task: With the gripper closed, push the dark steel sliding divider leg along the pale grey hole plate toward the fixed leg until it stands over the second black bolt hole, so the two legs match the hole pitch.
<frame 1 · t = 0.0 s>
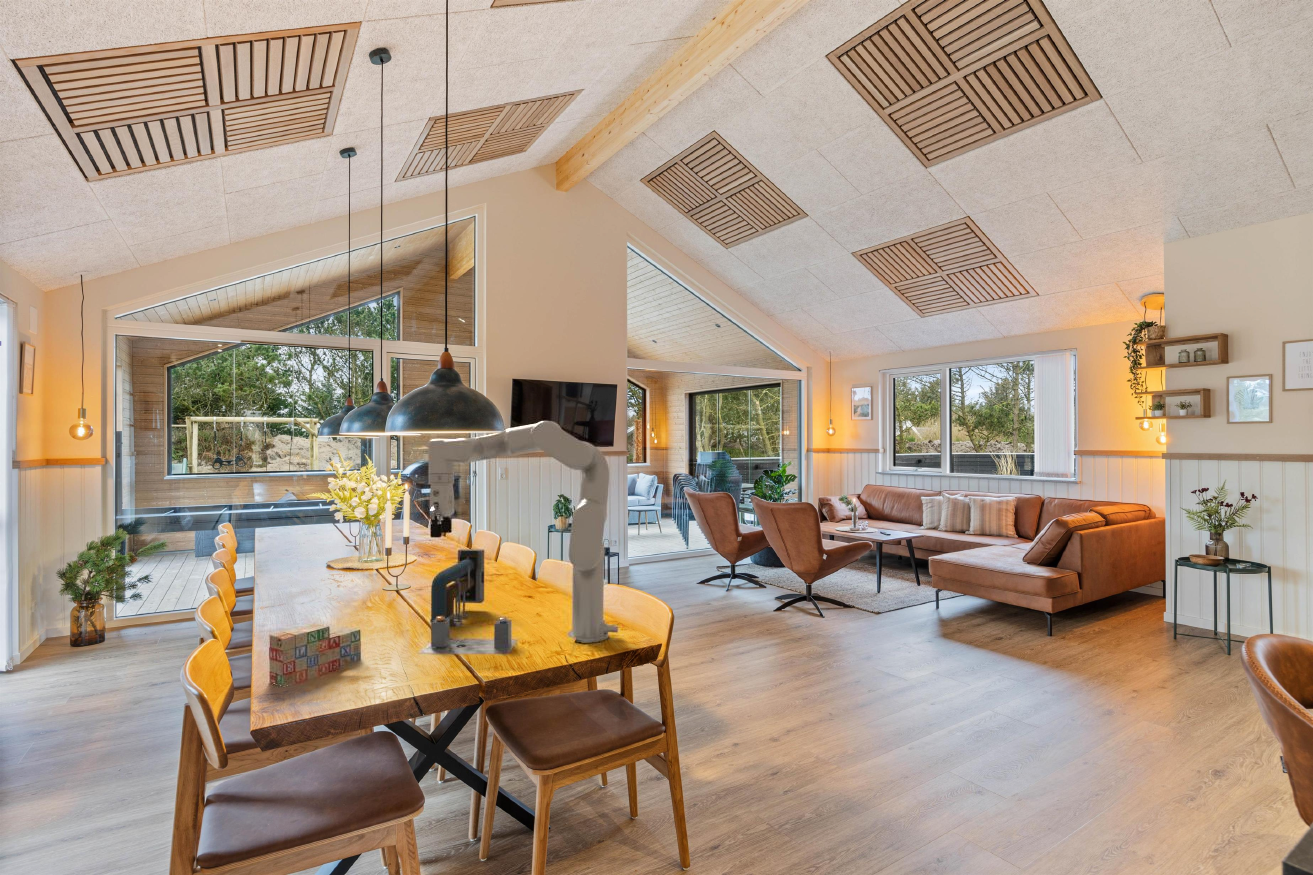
hand: (441, 534, 209), 31 cm above the table, tool pointing down, fingers open, 9 cm apart
fixed leg: (502, 646, 196), resting on hole plate
curved pipe assembly: (453, 623, 225), on the table
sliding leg: (440, 630, 196), point 6 cm above the table, slide at 0.0 cm
hole plate: (469, 650, 196), on the table
stack of blocks: (316, 673, 177), on the table
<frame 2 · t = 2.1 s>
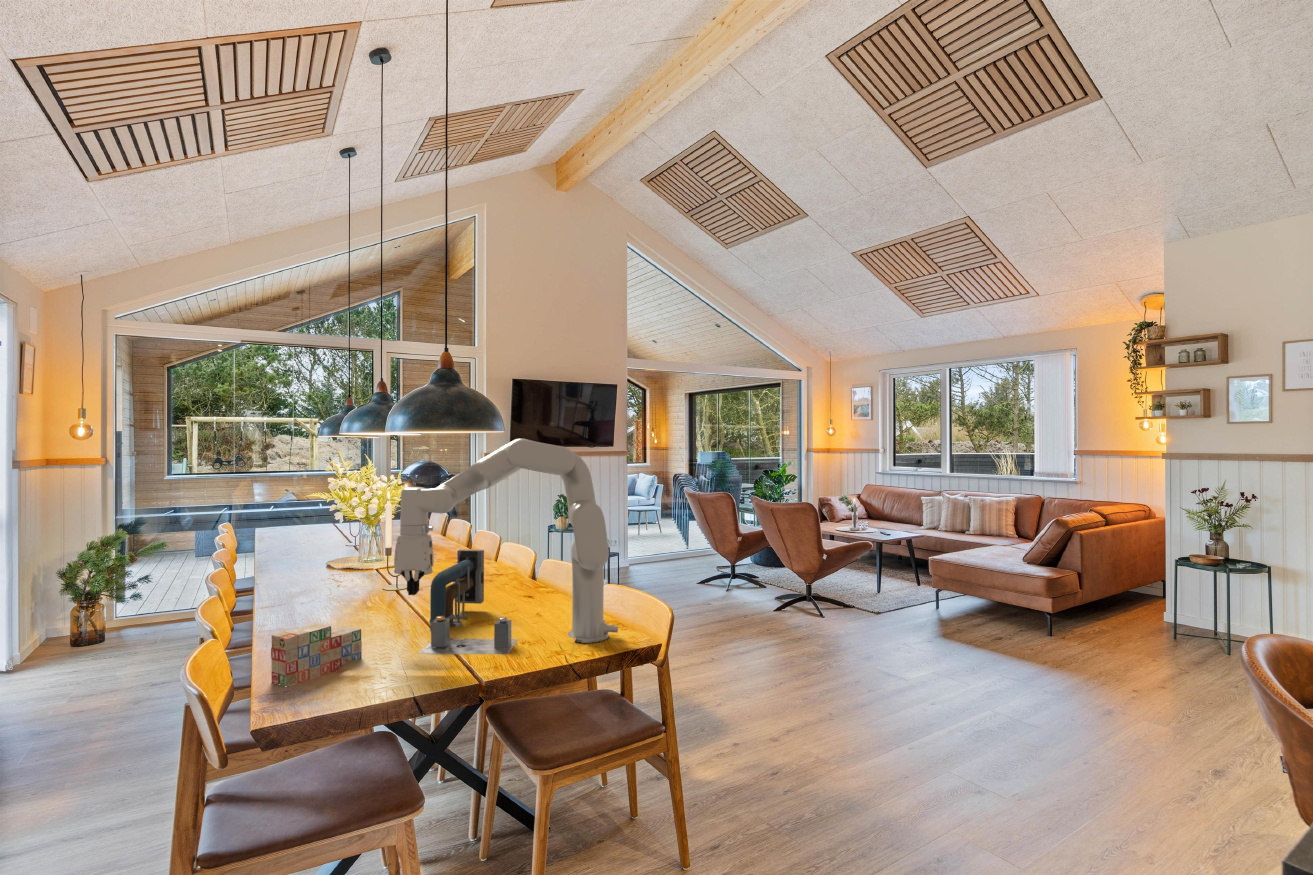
hand: (413, 594, 196), 16 cm above the table, tool pointing down, fingers closed
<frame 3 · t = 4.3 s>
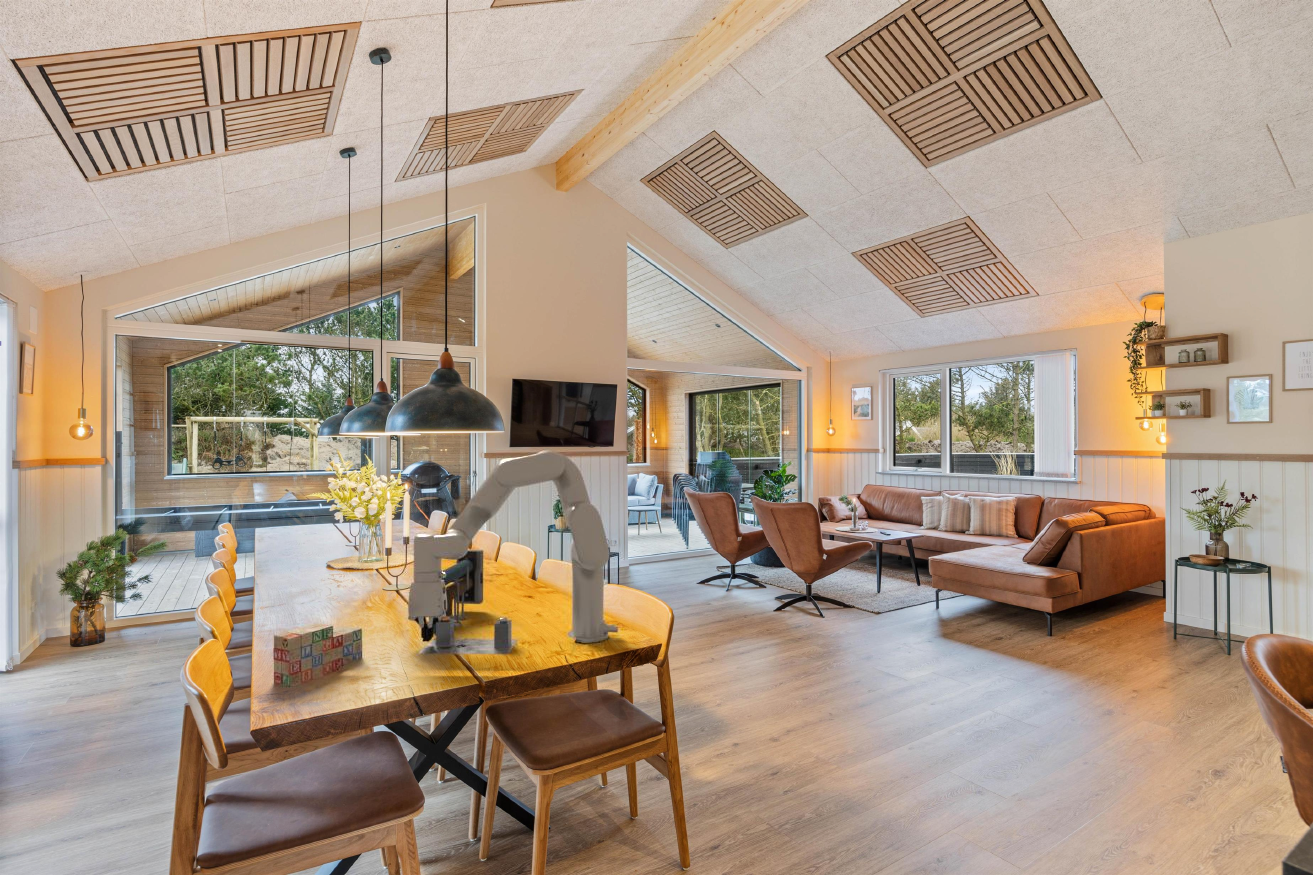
hand: (427, 640, 196), 3 cm above the table, tool pointing down, fingers closed
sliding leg: (445, 630, 196), point 6 cm above the table, slide at 1.4 cm, touching gripper
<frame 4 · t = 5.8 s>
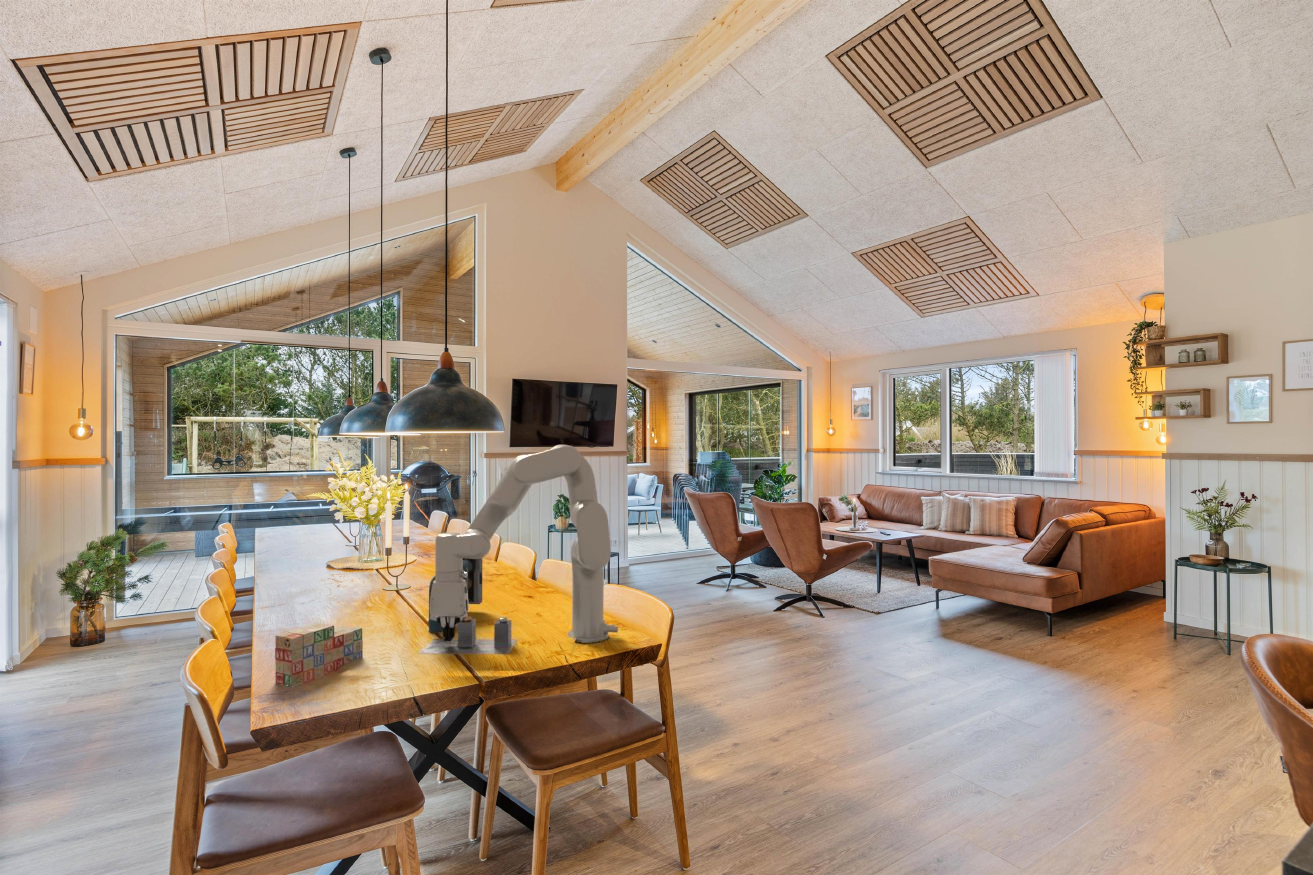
hand: (448, 639, 196), 3 cm above the table, tool pointing down, fingers closed
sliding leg: (466, 630, 196), point 6 cm above the table, slide at 7.6 cm, touching gripper
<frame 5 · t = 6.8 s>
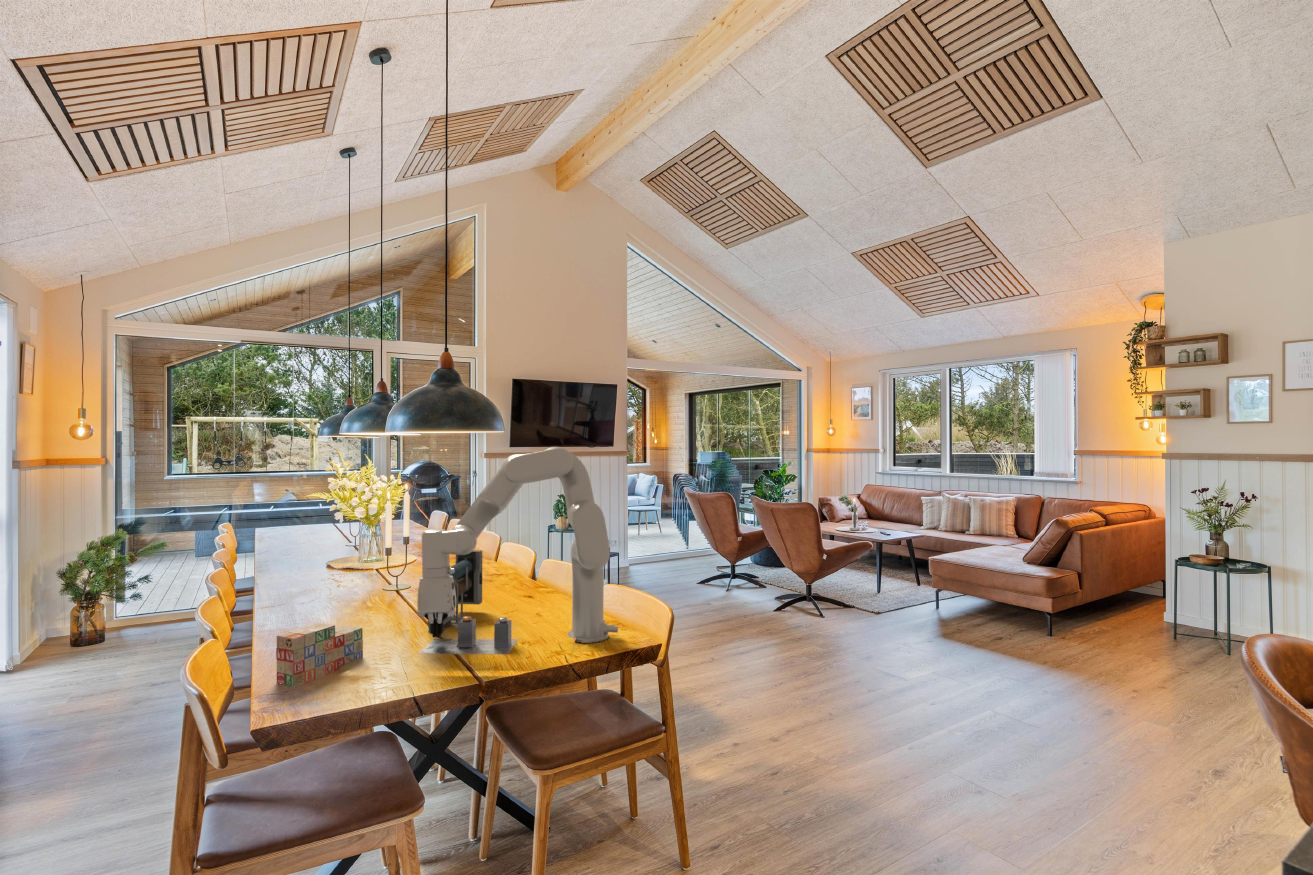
hand: (437, 636, 196), 4 cm above the table, tool pointing down, fingers closed
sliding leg: (466, 630, 196), point 6 cm above the table, slide at 7.6 cm
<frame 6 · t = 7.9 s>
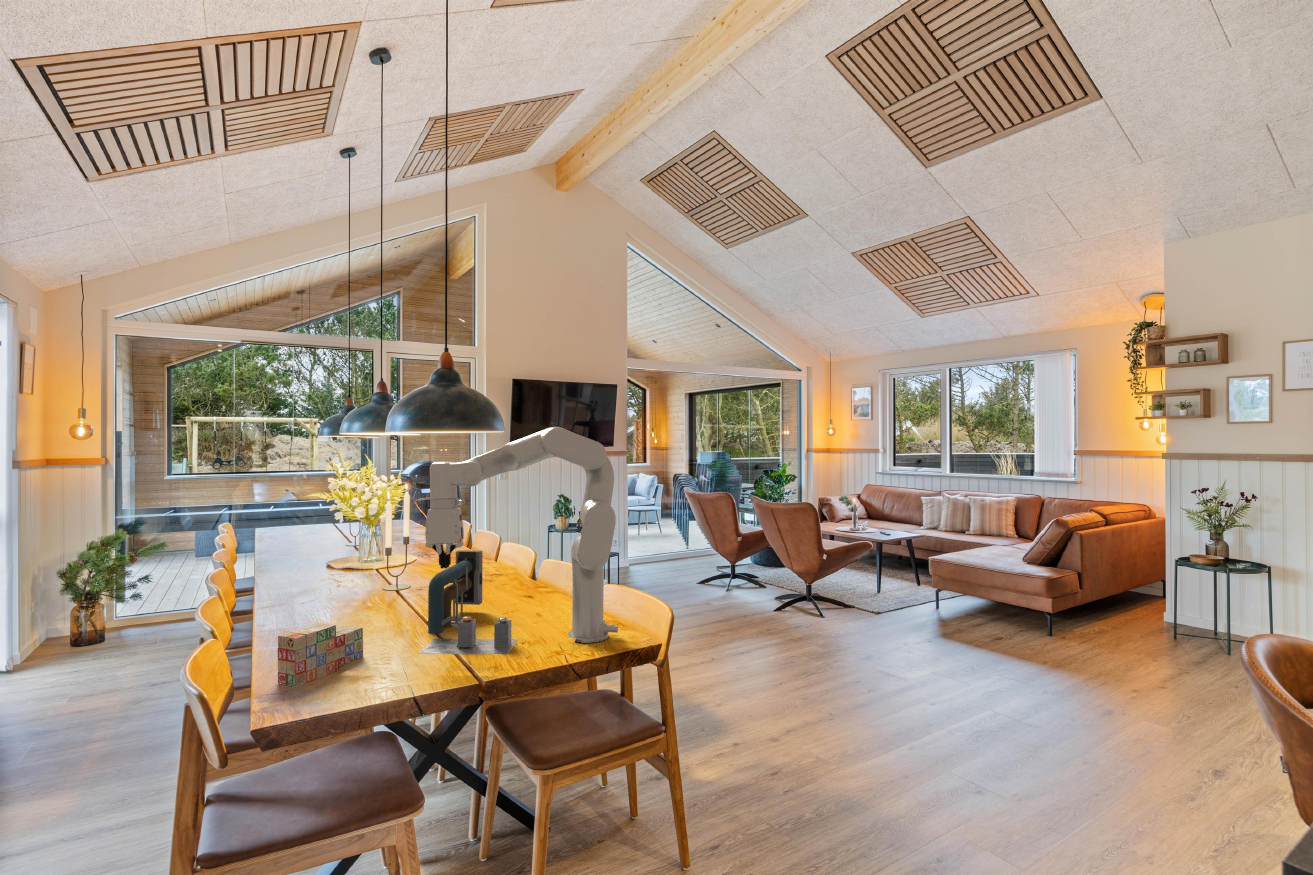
hand: (444, 567, 198), 23 cm above the table, tool pointing down, fingers closed
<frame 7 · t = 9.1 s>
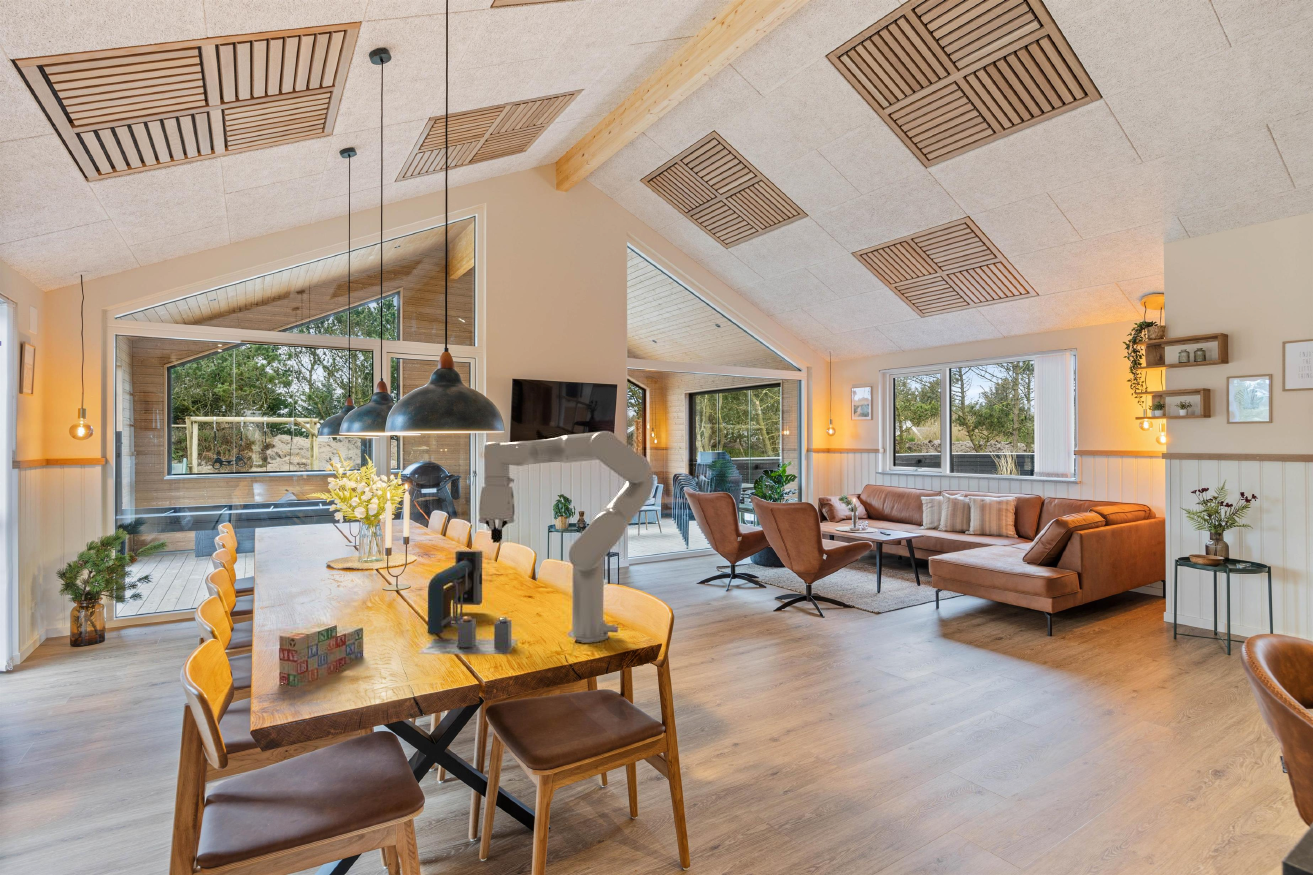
hand: (496, 541, 209), 29 cm above the table, tool pointing down, fingers closed
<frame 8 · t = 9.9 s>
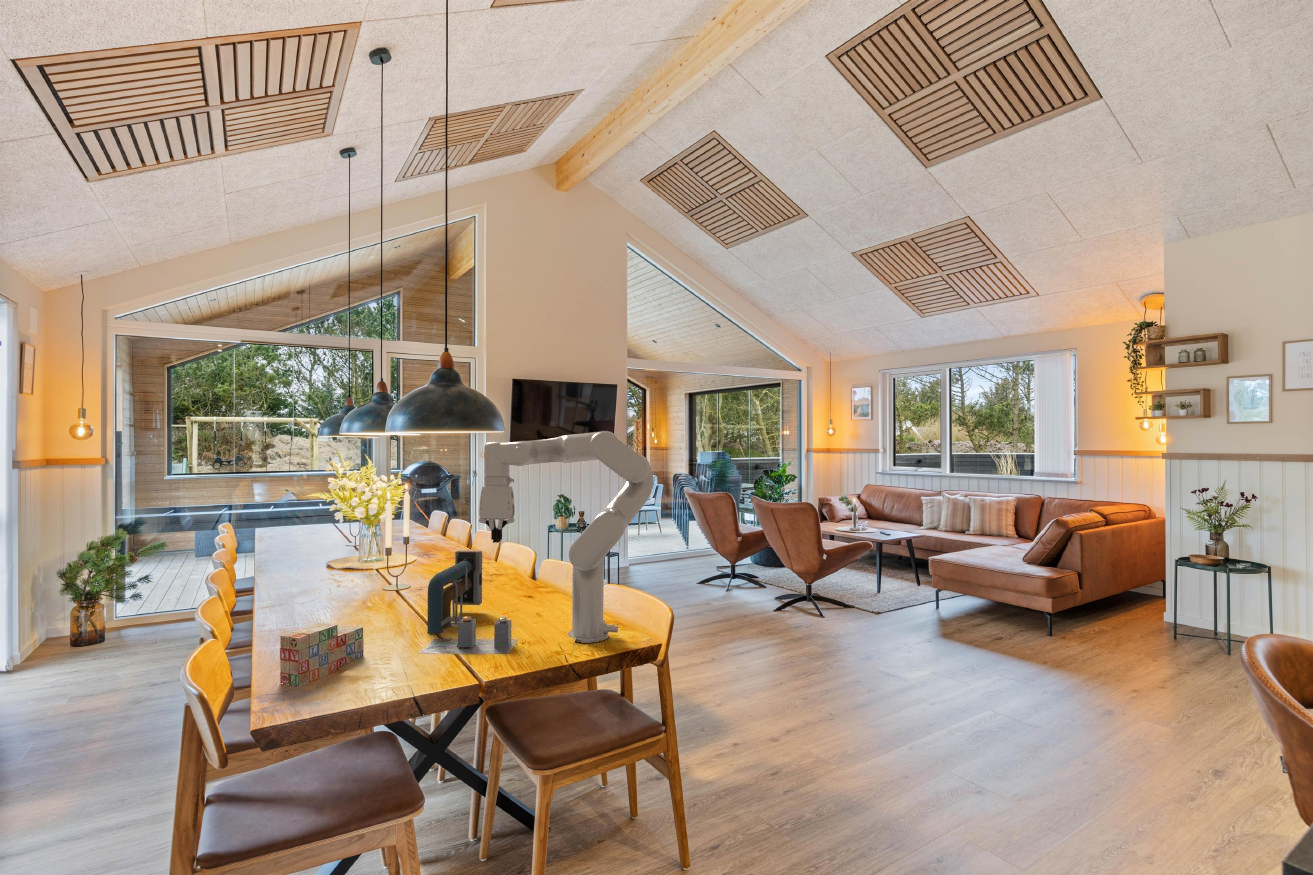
hand: (496, 541, 209), 29 cm above the table, tool pointing down, fingers closed
at the end: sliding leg slide at 7.6 cm; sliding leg 1.6 cm from the target spot, point 5.5 cm above the table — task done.
